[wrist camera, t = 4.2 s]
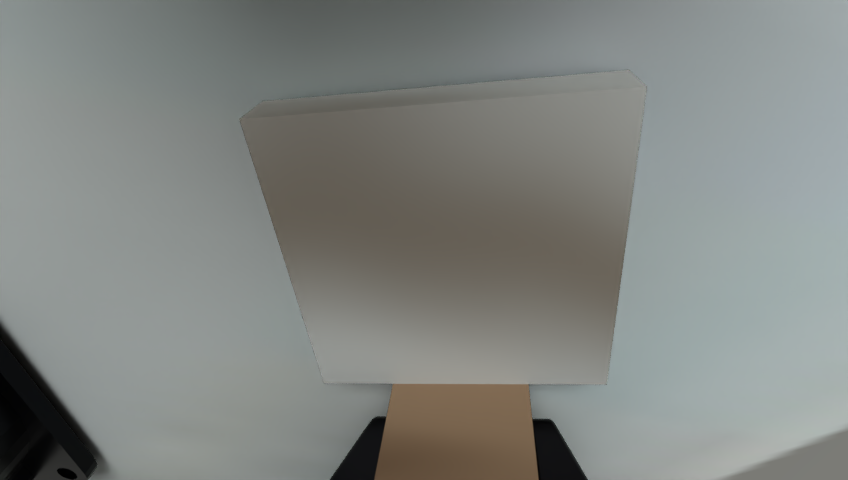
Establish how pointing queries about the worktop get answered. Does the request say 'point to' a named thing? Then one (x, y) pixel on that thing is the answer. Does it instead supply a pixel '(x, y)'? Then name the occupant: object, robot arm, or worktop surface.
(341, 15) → the worktop surface
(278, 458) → the worktop surface
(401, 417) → the grey-capped brown block
